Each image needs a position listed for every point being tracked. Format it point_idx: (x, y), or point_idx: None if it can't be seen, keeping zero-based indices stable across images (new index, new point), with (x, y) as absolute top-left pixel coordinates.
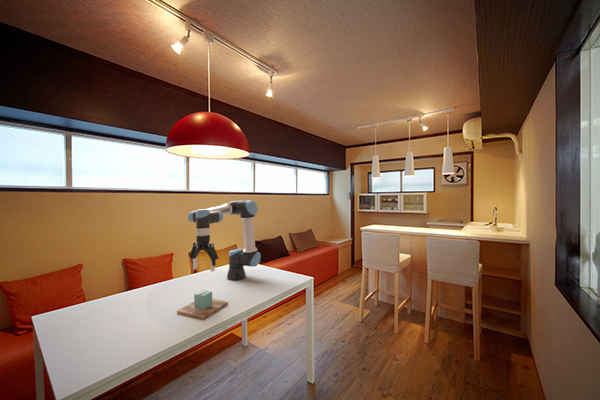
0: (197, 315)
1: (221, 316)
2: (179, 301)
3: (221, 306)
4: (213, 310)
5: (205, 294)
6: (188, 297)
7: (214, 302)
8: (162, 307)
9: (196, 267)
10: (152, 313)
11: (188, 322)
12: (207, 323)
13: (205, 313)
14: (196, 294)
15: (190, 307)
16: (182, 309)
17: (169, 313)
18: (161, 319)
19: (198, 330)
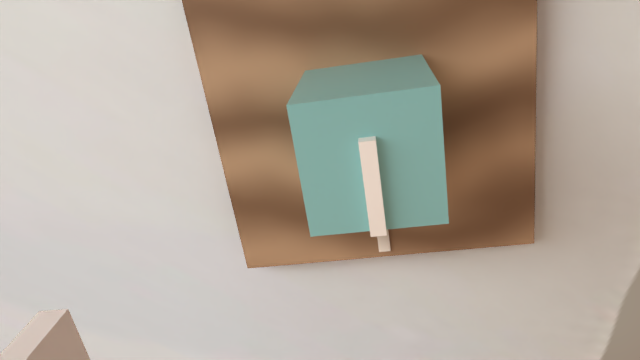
0: (464, 247)
1: (628, 127)
2: (43, 118)
3: (535, 28)
4: (527, 132)
5: (437, 187)
6: (12, 17)
7: (402, 6)
8: (59, 244)
9: (63, 353)
10: (106, 319)
11: (444, 292)
12: (590, 247)
13: (500, 200)
14: (340, 231)
15: (287, 188)
16: (265, 238)
17: (202, 274)
18: (243, 338)
19: (594, 323)
